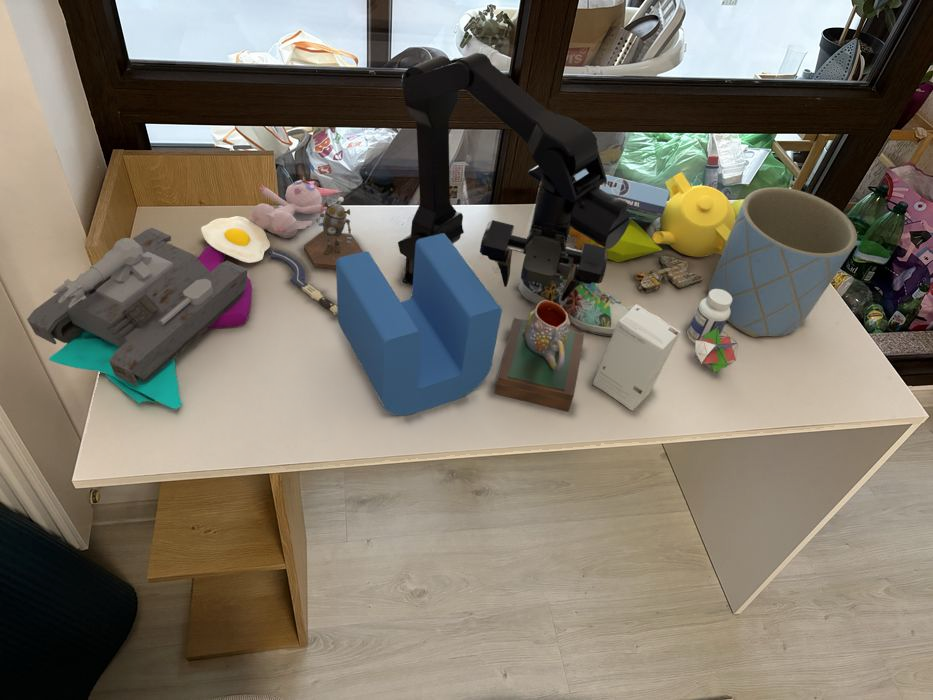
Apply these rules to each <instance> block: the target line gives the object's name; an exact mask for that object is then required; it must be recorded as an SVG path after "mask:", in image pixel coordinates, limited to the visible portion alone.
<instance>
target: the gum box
mask: <svg viewBox="0 0 933 700" xmlns="http://www.w3.org/2000/svg"><path fill="white" fill-rule="evenodd" d="M587 174H588V171H587V170H586V169H584V170H583V171H581V172H579V173H578V174H576V175H575V176H574V177H575V180H579V179H580V178H582V177H584V176H585V175H587ZM605 175H606V178H607V181H606V182H605V183H603V184H602V185H600V188H599V189H601V190H603V191H605V192H606V193H608V194H610V195H612V196H613V197H615V198H619V199H621V200H623V201H625V202H627V203H628V207H627V211H629V213H630V217H629V218H631V219H635V220H636V219H637V220H640V221H644V222H648V223H653V222H655V221H657V220H658V219H660V218H661V216H663V213H664V210H665V206H666V204H667V202H668V199H669V197H670V195H669V192H670V191H669V190H668V189H666V188H663V187H658V186H655V185H650V184H646V183H642V182H639V181H634V180H629V179H625V178H621V177H617V176H612V175H608V174H605Z"/></svg>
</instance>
